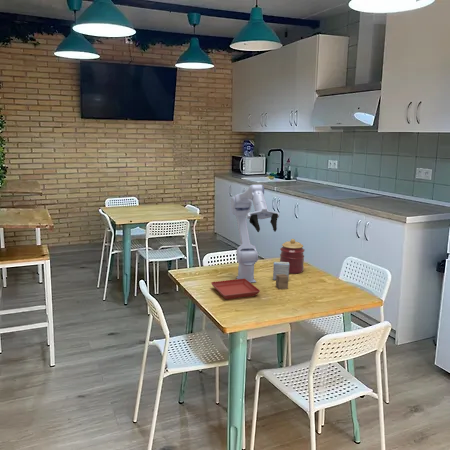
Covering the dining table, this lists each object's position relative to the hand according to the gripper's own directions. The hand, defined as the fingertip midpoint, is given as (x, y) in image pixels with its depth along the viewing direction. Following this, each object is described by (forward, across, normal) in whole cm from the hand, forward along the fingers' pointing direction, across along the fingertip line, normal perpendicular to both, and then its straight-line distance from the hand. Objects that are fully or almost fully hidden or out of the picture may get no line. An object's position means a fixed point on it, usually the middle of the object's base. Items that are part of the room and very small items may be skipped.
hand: (267, 230), depth 195 cm
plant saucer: (+12, -10, +33) cm, 36 cm away
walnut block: (+10, +14, +34) cm, 38 cm away
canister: (-8, +30, +50) cm, 59 cm away
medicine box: (+1, +18, +42) cm, 46 cm away
